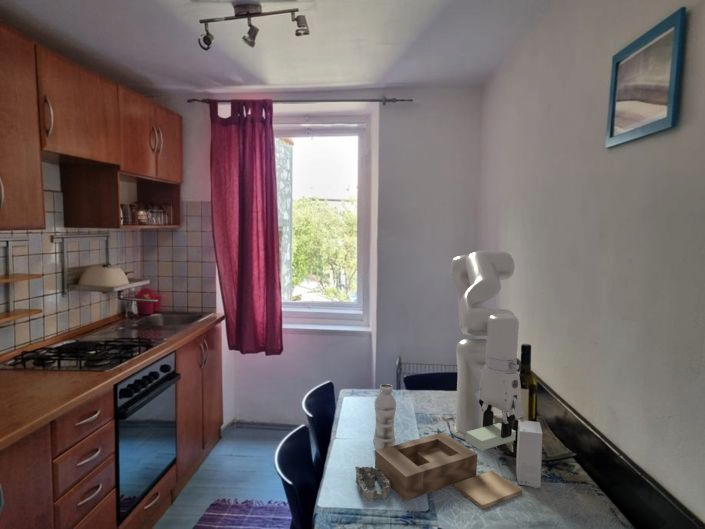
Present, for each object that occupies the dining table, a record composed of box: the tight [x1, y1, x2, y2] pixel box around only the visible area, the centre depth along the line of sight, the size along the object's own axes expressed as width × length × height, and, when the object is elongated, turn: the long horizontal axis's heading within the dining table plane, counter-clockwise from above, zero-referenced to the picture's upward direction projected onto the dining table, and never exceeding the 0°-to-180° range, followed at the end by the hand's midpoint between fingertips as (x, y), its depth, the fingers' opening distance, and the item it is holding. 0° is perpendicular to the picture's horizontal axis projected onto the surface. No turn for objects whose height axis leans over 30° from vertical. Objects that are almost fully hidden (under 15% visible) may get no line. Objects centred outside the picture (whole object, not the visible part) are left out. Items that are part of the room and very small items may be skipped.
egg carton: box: [355, 466, 390, 502], centre depth 114 cm, size 11×8×4 cm
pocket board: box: [374, 432, 478, 502], centre depth 120 cm, size 24×14×6 cm, turn 119°
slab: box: [465, 422, 517, 451], centre depth 113 cm, size 12×5×2 cm, turn 119°
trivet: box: [453, 470, 523, 510], centre depth 114 cm, size 14×10×1 cm
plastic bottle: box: [372, 383, 397, 450], centre depth 132 cm, size 6×7×20 cm
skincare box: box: [515, 419, 544, 489], centre depth 119 cm, size 8×6×15 cm
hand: (496, 431), depth 113 cm, fingers closed on slab, 5 cm apart
